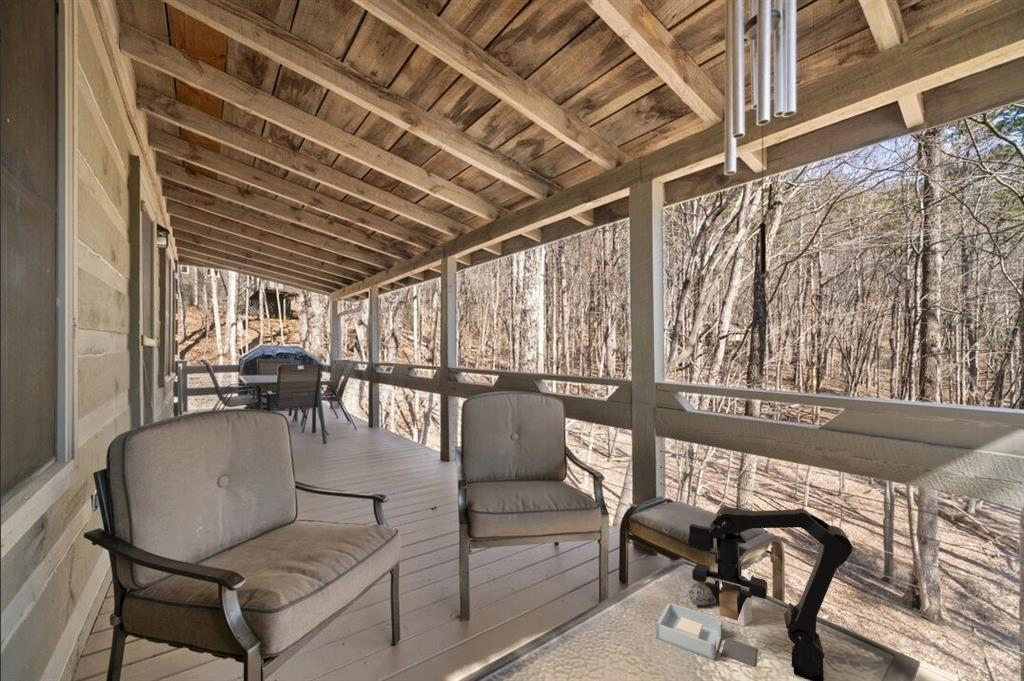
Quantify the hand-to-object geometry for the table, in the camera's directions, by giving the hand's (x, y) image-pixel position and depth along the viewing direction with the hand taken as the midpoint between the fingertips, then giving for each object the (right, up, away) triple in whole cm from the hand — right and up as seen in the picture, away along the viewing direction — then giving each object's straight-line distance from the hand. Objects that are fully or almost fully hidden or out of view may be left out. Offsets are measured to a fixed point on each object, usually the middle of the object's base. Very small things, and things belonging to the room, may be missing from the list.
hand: (729, 610), depth 122 cm
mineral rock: (+3, -12, +24) cm, 27 cm away
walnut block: (0, -1, 0) cm, 1 cm away
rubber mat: (+2, -11, -1) cm, 11 cm away
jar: (+9, -11, +14) cm, 20 cm away
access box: (-9, -11, +5) cm, 15 cm away
